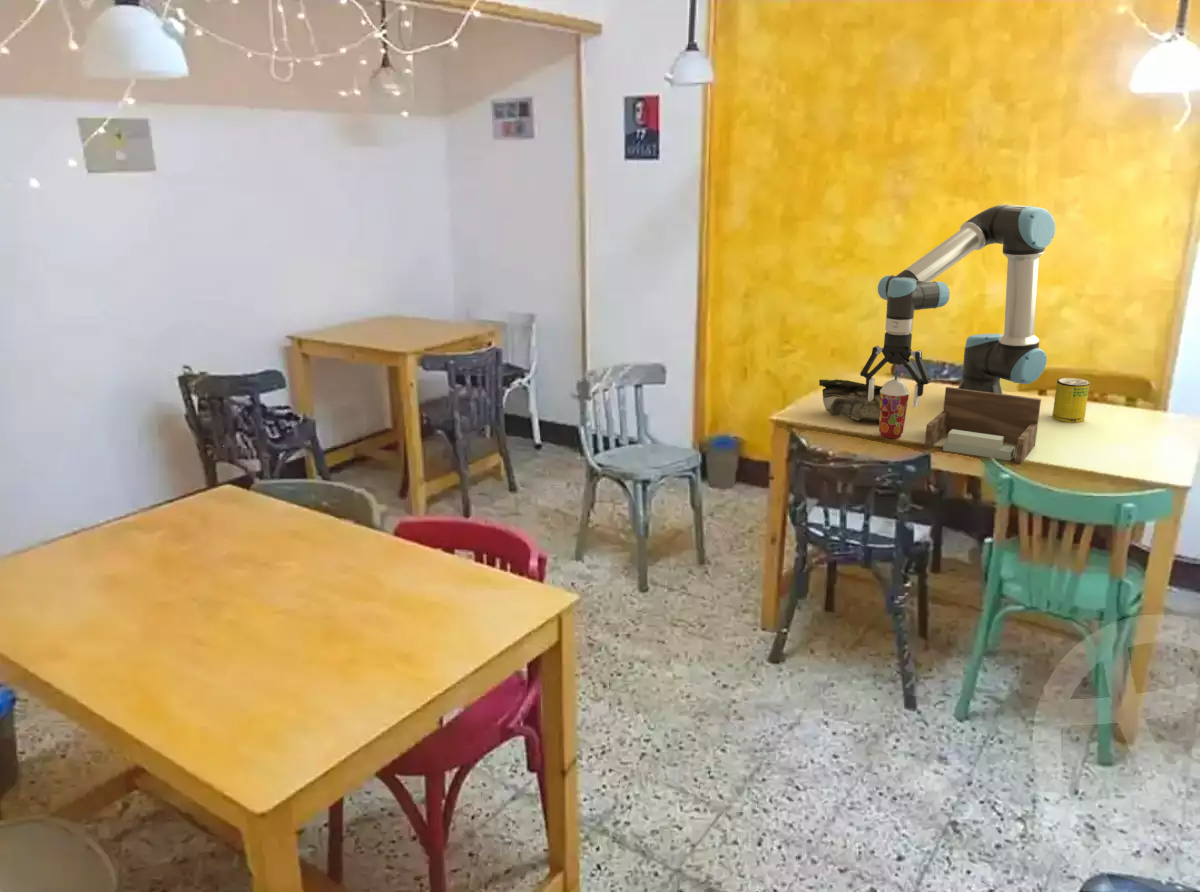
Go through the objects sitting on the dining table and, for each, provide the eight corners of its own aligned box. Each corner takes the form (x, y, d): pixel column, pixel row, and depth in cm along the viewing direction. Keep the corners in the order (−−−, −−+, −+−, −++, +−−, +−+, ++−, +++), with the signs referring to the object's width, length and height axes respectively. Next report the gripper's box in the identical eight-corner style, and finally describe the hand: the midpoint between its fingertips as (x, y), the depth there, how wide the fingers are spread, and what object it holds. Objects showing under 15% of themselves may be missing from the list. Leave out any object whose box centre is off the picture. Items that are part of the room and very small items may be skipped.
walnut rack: (942, 431, 282) (947, 386, 278) (1035, 445, 268) (1041, 398, 263) (924, 447, 268) (928, 401, 264) (1020, 463, 254) (1027, 414, 250)
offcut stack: (946, 446, 270) (948, 428, 268) (1013, 457, 260) (1015, 437, 259) (942, 451, 266) (944, 432, 265) (1010, 461, 257) (1012, 442, 255)
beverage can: (1088, 418, 292) (1093, 380, 288) (1078, 424, 286) (1084, 386, 282) (1057, 413, 298) (1062, 376, 294) (1048, 419, 292) (1053, 382, 288)
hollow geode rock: (816, 425, 307) (802, 400, 296) (828, 393, 311) (815, 367, 300) (899, 437, 290) (888, 412, 279) (911, 403, 294) (901, 376, 283)
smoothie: (901, 431, 283) (908, 367, 277) (907, 440, 275) (914, 374, 269) (873, 431, 284) (879, 367, 278) (878, 439, 276) (884, 373, 270)
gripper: (852, 330, 274) (847, 400, 280) (938, 339, 260) (931, 412, 267) (861, 325, 279) (856, 394, 286) (946, 334, 266) (939, 405, 272)
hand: (892, 403), depth 276 cm, fingers open, 13 cm apart
